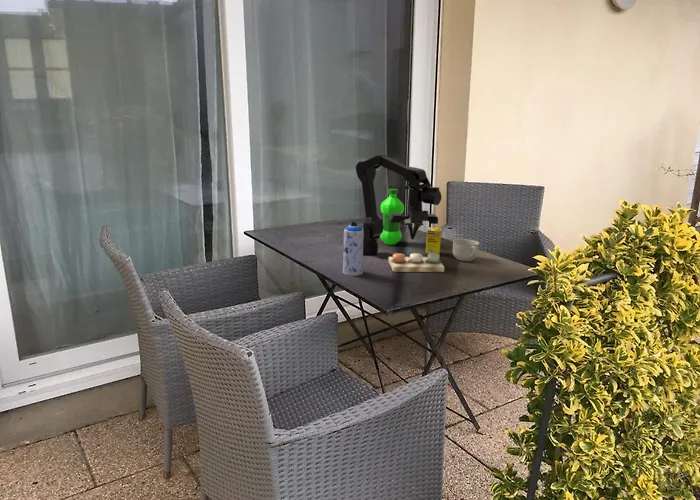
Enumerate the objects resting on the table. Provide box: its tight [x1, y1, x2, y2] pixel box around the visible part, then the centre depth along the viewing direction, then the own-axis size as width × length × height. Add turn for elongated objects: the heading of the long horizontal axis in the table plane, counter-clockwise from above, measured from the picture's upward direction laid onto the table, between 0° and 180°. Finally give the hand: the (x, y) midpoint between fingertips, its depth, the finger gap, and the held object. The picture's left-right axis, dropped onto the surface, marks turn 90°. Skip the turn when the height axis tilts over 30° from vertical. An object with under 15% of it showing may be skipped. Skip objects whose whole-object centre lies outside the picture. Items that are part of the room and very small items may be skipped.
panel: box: [388, 256, 445, 273], centre depth 241 cm, size 20×14×2 cm
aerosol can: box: [342, 220, 364, 277], centre depth 229 cm, size 8×8×20 cm
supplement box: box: [425, 227, 442, 256], centre depth 259 cm, size 6×6×11 cm
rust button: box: [392, 252, 406, 262], centre depth 240 cm, size 5×5×2 cm
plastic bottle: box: [379, 188, 405, 246], centre depth 272 cm, size 10×10×25 cm
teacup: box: [452, 238, 480, 262], centre depth 251 cm, size 14×11×8 cm
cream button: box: [409, 252, 423, 262], centre depth 240 cm, size 5×5×2 cm
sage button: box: [426, 253, 440, 262], centre depth 241 cm, size 5×5×2 cm
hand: (412, 239), depth 242 cm, fingers closed
